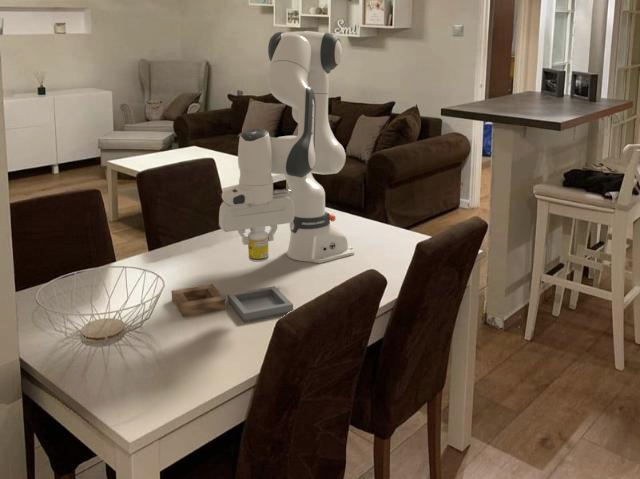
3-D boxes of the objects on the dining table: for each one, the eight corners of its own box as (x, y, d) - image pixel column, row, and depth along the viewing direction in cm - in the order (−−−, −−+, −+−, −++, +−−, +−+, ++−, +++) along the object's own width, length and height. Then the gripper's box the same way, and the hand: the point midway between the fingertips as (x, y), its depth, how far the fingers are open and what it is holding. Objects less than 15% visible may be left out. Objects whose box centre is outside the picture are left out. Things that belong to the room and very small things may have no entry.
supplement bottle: (248, 255, 200) (247, 221, 196) (268, 255, 200) (267, 221, 197) (248, 263, 194) (247, 228, 191) (269, 262, 195) (268, 227, 192)
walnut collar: (213, 293, 211) (212, 283, 210) (225, 309, 201) (225, 299, 200) (172, 300, 207) (171, 290, 206) (182, 317, 196) (182, 306, 195)
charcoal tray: (274, 294, 211) (274, 286, 210) (293, 312, 199) (293, 304, 198) (228, 302, 205) (227, 294, 204) (244, 322, 193) (244, 313, 192)
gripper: (288, 185, 198) (289, 233, 202) (215, 193, 190) (218, 244, 194) (297, 190, 192) (298, 240, 197) (223, 200, 184) (225, 251, 189)
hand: (258, 242), depth 196 cm, fingers closed on supplement bottle, 5 cm apart
